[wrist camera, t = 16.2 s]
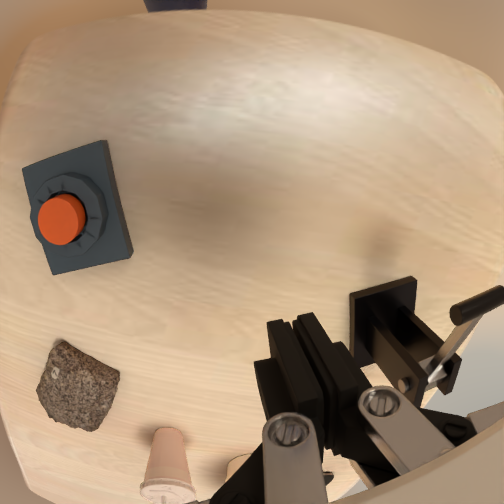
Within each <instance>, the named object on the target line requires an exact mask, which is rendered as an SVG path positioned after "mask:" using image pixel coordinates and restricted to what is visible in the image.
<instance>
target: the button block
mask: <svg viewBox="0 0 504 504" xmlns="http://www.w3.org/2000/svg"><path fill="white" fill-rule="evenodd" d="M22 171H23V176H24V181H25V185H26V189H27V193H28V197H29V201H30V205H31V213H30V219H31V222H32V226H33V229H34V232H35V236H36V238H37V239H38V240H39V241H40V242H41V243H42V246H43V249H44V252H45V255H46V258H47V261H48V263H49V266H50V269H51V272H52V274H53V275H57V274H62V273H66V272H70V271H75V270H79V269H84V268H88V267H92V266H97V265H101V264H106V263H110V262H115V261H119V260H124V259H128V258H130V257H131V255H132V254H133V252H134V250H133V247H132V243H131V240H130V236H129V233H128V229H127V225H126V221H125V218H124V214H123V210H122V206H121V202H120V198H119V194H118V189H117V185H116V181H115V176H114V172H113V167H112V162H111V157H110V153H109V148H108V142H107V140H100V141H97V142H94V143H91V144H88V145H85V146H81V147H78V148H75V149H72V150H70V151H67V152H64V153H61V154H58V155H55V156H53V157H50V158H47V159H45V160H42V161H39V162H37V163H34V164H32V165H29V166H27V167H24V168H22ZM61 194H69V195H72V196H74V197H76V198H77V199H78V200H79V201H80V202H81V204H82V205H83V208H84V210H85V216H86V220H85V225H84V228H83V230H82V231H81V232H80V233H79V234H78V235H77V236H76V237H75V238H74V239H73V240H72V241H70V242H69V243H67V244H65V245H56V244H53V243H51V242H49V241H48V240H47V239H45V237H44V236H43V235H42V233H41V231H40V229H39V225H38V215H39V211H40V209H41V207H42V205H43V204H44V203H45V202H46V201H48V200H49V199H52V198H54V197H56V196H58V195H61Z"/></svg>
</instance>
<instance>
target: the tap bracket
mask: <svg viewBox="0 0 504 504" xmlns="http://www.w3.org/2000/svg"><path fill="white" fill-rule="evenodd" d="M416 290H417V280H416V279H415V278H414V277H412V276H410V277H406V278H403V279H400V280H396V281H393V282H390V283H386V284H383V285H379V286H376V287H372V288H369V289H365V290H361V291H358V292H354V293H350V354H351V355H352V357H353V358H354V360H355V361H356V363H357V364H358V366H359V367H360V368H361V367H364V366H367V365H370V364H373V363H376V364H377V365H378V366H379V368H380V369H381V370H382V372H383V373H384V374H385V376H386V377H387V379H388V380H389V381H390V383H391V384H392V385H393V387H394V388H395V389H397V390H398V391H399V392H401V393H402V394H403V395H404V396H405V397H406V398H407V399H408V400H409V401H410V402H411V403H412V404H413V405H414V406H415V407H418V408H420V406H421V402H422V399H423V396H424V392H425V388H426V385H427V381H428V377H429V375H428V374H427V373H426V372H425V371H424V370H423V368H422V367H421V366H420V365H419V364H418V362H420V361H422V360H425V359H427V358H429V357H431V356H434V355H436V353H437V352H438V351H439V349H440V348H441V347H442V345H443V344H444V341H443V340H442V339H441V338H440V337H439V336H438V335H436V334H435V333H434V332H433V331H432V330H431V329H430V328H429V327H428V326H427V325H426V324H425V323H424V322H423V321H421V320H420V319H419V318H418V317H417V316H416V315H415V314H414V310H415V301H416ZM461 361H462V359H461V358H460V357H459V356H458V355H457V354H456V353H454V354H453V355H452V356H451V358H450V359H449V360H448V361H447V362H446V364H445V365H444V366H443V368H444V370H445V372H446V374H447V375H446V376H445V377H444V379H443V380H442V381H441V382H440V383H439V384H438V385H437V387H438V388H439V390H440V391H441V392H442V393H443V394H444V395H446V394H448V393H450V392H452V389H453V386H454V384H455V380H456V377H457V375H458V371H459V368H460V365H461Z"/></svg>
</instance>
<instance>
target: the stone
mask: <svg viewBox="0 0 504 504" xmlns="http://www.w3.org/2000/svg"><path fill="white" fill-rule="evenodd" d="M119 376H120V373H119V372H118V371H116V370H114V369H112V368H110V367H108V366H106V365H104V364H102V363H101V362H99V361H97V360H95V359H94V358H92V357H90V356H88V355H86V354H84V353H82V352H80V351H79V350H77V349H76V348H74V347H72V346H70V345H69V344H67V343H66V342H62V343H61V344H59V345H58V346H56V347H55V348H53V349H52V350H51V351H50V353H49V357H48V362H47V365H46V370H45V372H44V373H43V375H42V377H41V380H40V383H39V385H38V386H37V389H36V392H37V394H38V397H39V401H40V402H41V404H42V406H43V407H44V408H45V410H46V412H47V413H48V416H49V418H53V419H54V421H55V422H60V423H63V424H66V425H68V426H70V427H72V428H78V427H79V428H82V429H83V430H86V431H90V432H92V431H95V430H96V429H98V428H99V426H100V424H101V423H102V421H103V419H104V418H105V416H106V415H107V413H108V411H109V409H110V408H111V406H112V403H113V400H114V397H115V394H116V392H117V390H118V388H117V385H118V382H119V380H120V378H119Z"/></svg>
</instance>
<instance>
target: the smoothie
mask: <svg viewBox="0 0 504 504" xmlns="http://www.w3.org/2000/svg"><path fill="white" fill-rule="evenodd" d="M140 488H141V491H140V493H141V496H142V497H143V498H145V499H146V500H148V501H150V502H152V503H155V504H185V503H189V502H192V501H194V500H195V499H196V489H195V488H194V486H192V482H191V477H190V473H189V468H188V463H187V458H186V452H185V447H184V441H183V436H182V434H181V432H180V431H178V430H176V429H173V428H167V427H166V428H160V429H158V430H156V432H155V434H154V439H153V443H152V447H151V451H150V456H149V460H148V465H147V469H146V473H145V478H144V481H143V482H142V483H141V485H140Z"/></svg>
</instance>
